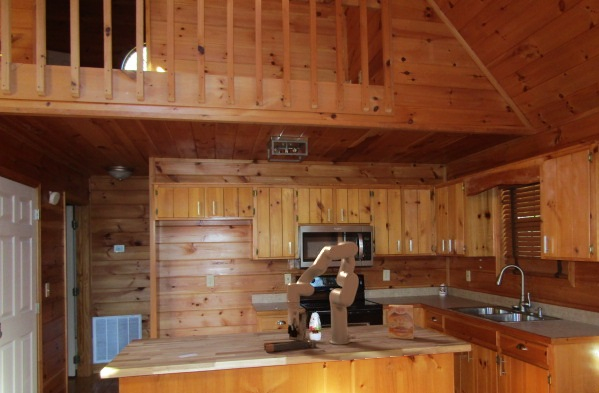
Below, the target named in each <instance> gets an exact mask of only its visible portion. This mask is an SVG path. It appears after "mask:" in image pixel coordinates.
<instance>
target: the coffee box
mask: <svg viewBox="0 0 599 393" xmlns="http://www.w3.org/2000/svg"><path fill="white" fill-rule="evenodd" d="M288 339H289V340H293V341H300V340H306V339H307V312H305V311H304V312H303V311H299V326H297V337H291V334H288Z"/></svg>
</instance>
